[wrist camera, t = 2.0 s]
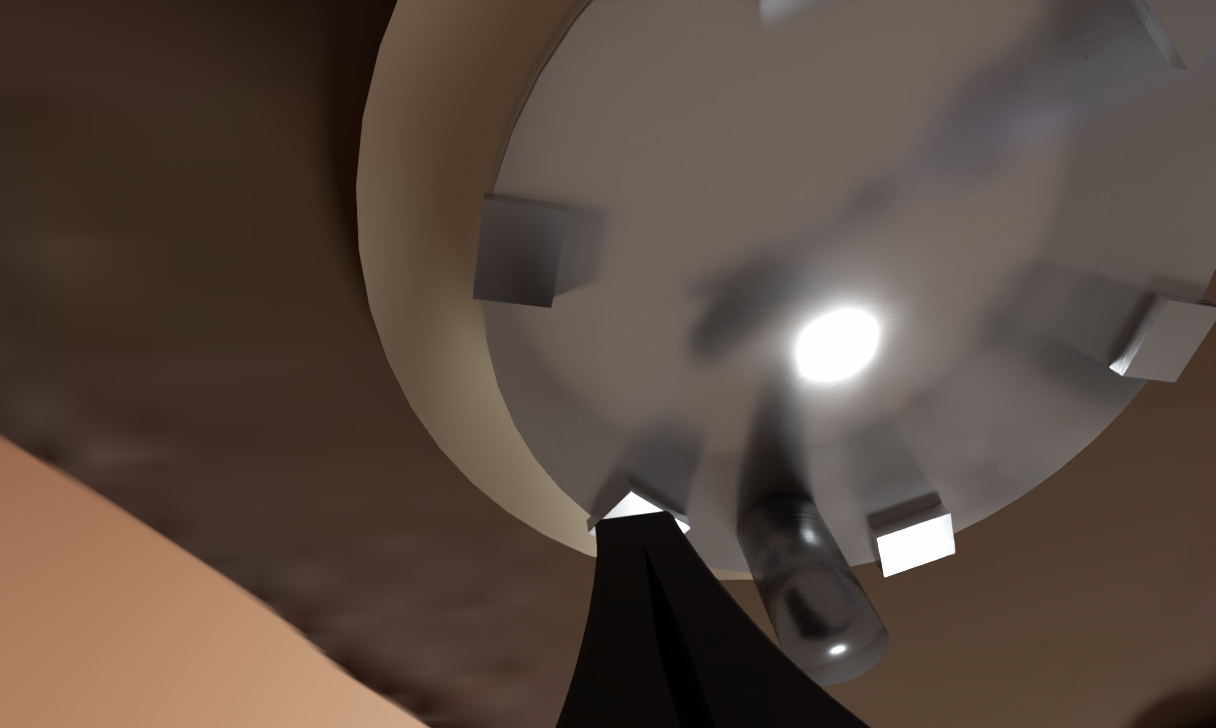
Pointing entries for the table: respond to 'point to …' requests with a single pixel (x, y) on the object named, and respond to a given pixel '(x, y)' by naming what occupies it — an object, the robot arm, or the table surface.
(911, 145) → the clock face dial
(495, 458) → the base plate
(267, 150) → the table surface
